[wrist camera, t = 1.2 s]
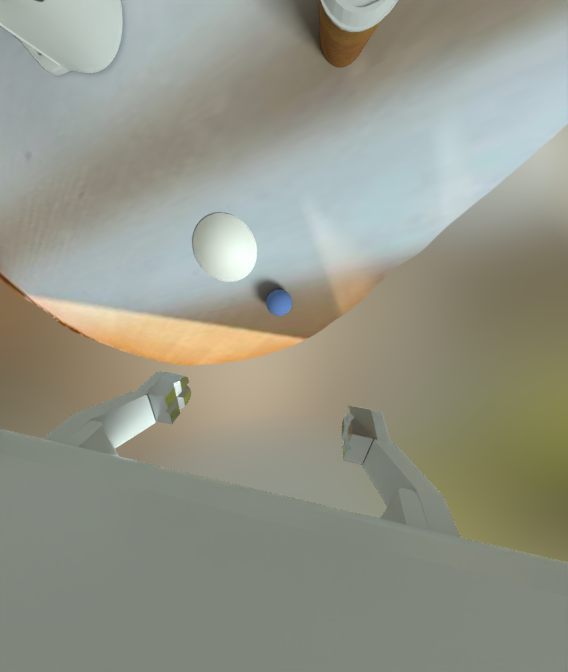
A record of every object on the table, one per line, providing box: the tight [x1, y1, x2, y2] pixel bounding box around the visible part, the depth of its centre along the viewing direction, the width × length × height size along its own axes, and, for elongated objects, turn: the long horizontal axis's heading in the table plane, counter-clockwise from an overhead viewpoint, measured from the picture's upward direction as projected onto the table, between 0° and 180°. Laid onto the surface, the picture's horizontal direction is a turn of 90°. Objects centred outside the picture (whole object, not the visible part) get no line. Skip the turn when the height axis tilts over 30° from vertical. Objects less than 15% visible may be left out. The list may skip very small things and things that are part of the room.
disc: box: [193, 213, 257, 282], centre depth 44 cm, size 13×13×1 cm
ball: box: [266, 290, 292, 316], centre depth 46 cm, size 6×6×6 cm
